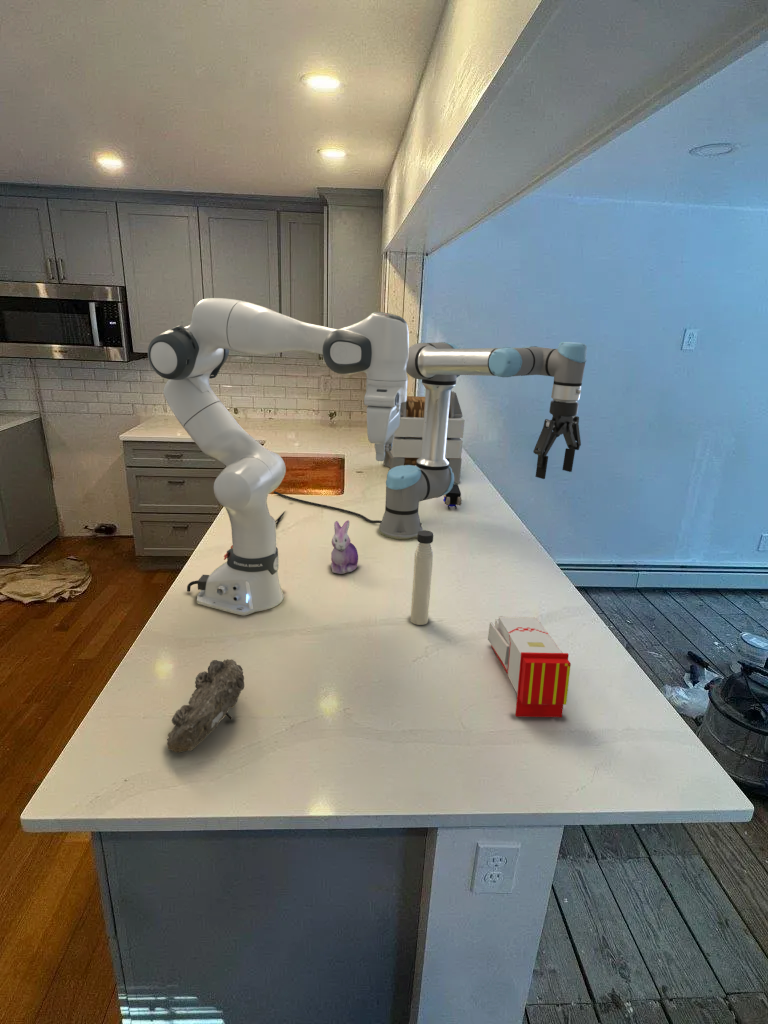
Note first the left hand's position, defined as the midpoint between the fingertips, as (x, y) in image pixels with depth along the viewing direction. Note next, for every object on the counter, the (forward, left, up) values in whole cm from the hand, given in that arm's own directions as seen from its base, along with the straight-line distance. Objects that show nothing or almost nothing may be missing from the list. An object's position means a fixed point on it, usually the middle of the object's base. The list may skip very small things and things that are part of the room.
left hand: (384, 455), depth 126 cm
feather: (-49, +68, -44) cm, 95 cm away
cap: (+10, +6, -20) cm, 23 cm away
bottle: (+10, +6, -44) cm, 45 cm away
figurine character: (+11, +99, -44) cm, 109 cm away
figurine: (-16, +30, -44) cm, 56 cm away
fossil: (-24, -40, -44) cm, 64 cm away
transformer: (-7, +143, -44) cm, 150 cm away
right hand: (+42, +44, -12) cm, 62 cm away
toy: (+35, -12, -44) cm, 57 cm away
